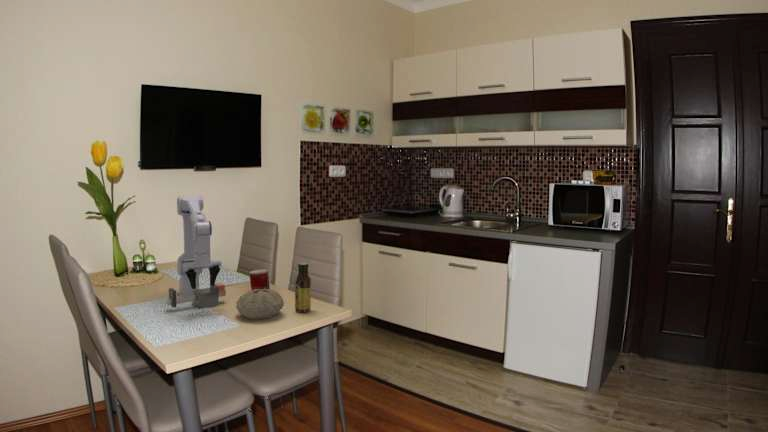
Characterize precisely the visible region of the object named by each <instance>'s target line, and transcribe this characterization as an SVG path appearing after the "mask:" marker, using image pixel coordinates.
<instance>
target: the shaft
mask: <svg viewBox="0 0 768 432" xmlns="http://www.w3.org/2000/svg"><path fill="white" fill-rule="evenodd" d="M226 291H227V290H226V289H225V291H222V292H218V295H219V298H222V297H226V296H227V294H226ZM165 300H166V301H165V303H166V305H167V306H170V307H171V308H177V305H178V304H179V305H180V304H184V303H191V302H192V303H193V301H197V294H196V293H195V294H189V295H182V296H181V295H178V296H177V290H176V289H174V288H173V287H170V288H168V297H166V299H165Z"/></svg>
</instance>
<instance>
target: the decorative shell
mask: <svg viewBox="0 0 768 432" xmlns="http://www.w3.org/2000/svg"><path fill="white" fill-rule="evenodd" d="M235 302H236V305H235V308H236V310H237V312H238V313H239V314H240V315H241V316H244V317H245V318H248V319H250V320H260V319H268V318H271V317H273V316H276V315H277V314H278V313H279V312H280V311H281V310H282V309H283V307H284V304H285V303H284V299H283V297H282V295H281V294H280V293H279V292H278V291H276V290H274V289H261V290H260V289H257V290H256V289H255V290H250V291H249V290H248V291H247V292H245V293H243V294H242V295H241V296H240V297H239V298H238V300H236V301H235Z"/></svg>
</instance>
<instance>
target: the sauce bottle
mask: <svg viewBox="0 0 768 432" xmlns="http://www.w3.org/2000/svg"><path fill="white" fill-rule="evenodd" d="M297 267H298V274H297V276H296V279H295V282H294V307H295V312H296V313H299V314H300V313H301V314H302V313H303V314H304V313H305V314H307V313H309V312H310V311H311V307H312V306H311V305H312V304H311V303H312V301H311V299H312V295H311V293H312V284H311V283H312V282H311V277H310V275H309V262H306V261H305V262H304V261H302V262H301V261H300V262H299V263H298V264H297Z"/></svg>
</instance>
